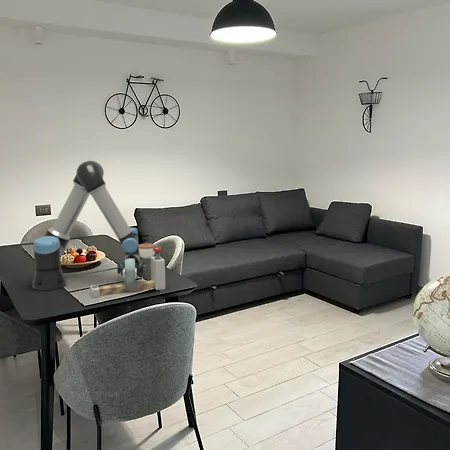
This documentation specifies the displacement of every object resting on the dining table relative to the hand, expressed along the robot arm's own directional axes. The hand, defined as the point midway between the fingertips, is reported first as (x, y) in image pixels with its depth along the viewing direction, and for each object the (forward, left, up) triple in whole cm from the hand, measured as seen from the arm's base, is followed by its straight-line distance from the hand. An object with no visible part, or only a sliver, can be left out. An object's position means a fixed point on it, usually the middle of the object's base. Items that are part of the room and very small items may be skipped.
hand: (129, 274), depth 208 cm
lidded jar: (+25, +66, -9) cm, 71 cm away
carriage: (+1, +5, -8) cm, 9 cm away
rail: (0, +5, -9) cm, 11 cm away
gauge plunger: (+15, +5, -1) cm, 16 cm away
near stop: (-15, +5, -9) cm, 18 cm away
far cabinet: (+15, +5, -9) cm, 18 cm away
